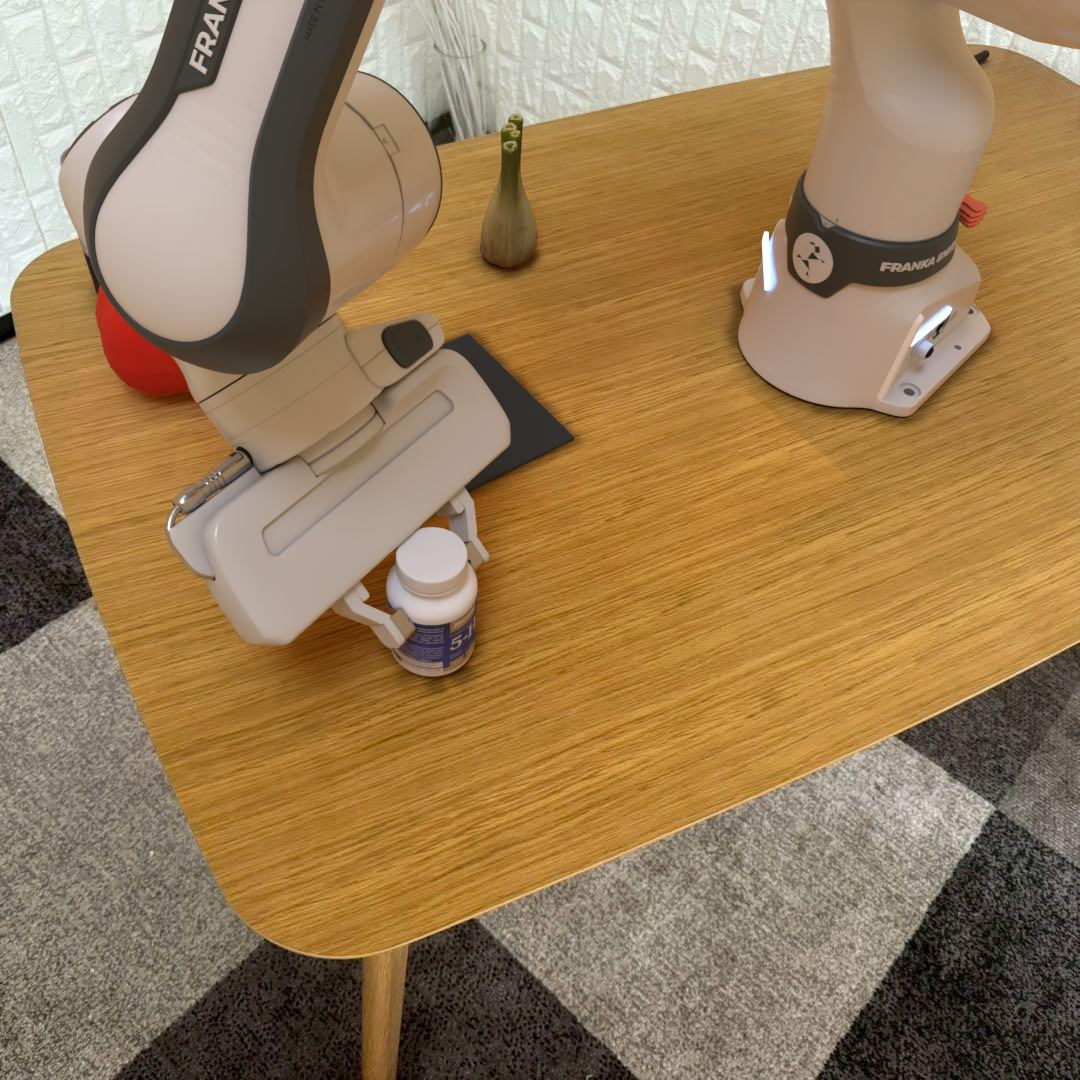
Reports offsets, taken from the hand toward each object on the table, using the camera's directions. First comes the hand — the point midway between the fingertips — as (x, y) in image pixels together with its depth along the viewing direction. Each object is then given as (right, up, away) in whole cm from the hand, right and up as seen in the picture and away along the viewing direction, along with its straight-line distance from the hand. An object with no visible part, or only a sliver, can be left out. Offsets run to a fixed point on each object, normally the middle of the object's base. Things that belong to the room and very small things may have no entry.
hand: (441, 602), depth 59 cm
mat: (-2, +12, +17) cm, 21 cm away
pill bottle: (-1, -3, +4) cm, 5 cm away
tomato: (-21, +17, +19) cm, 34 cm away
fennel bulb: (+3, +29, +31) cm, 42 cm away
